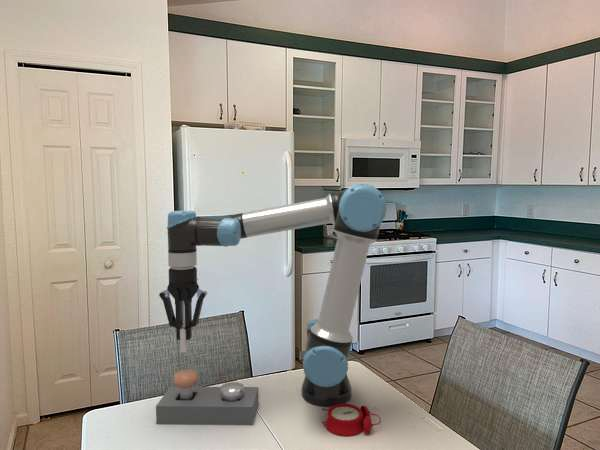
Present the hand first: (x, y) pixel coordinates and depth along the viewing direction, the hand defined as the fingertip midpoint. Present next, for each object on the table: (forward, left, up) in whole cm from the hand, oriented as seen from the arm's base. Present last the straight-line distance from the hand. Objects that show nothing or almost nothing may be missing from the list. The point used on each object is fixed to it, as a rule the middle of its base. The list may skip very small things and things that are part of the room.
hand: (184, 350), depth 125 cm
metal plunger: (-13, 0, -18) cm, 22 cm away
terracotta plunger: (0, 0, -14) cm, 14 cm away
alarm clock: (-46, +6, -19) cm, 50 cm away
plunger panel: (-7, 0, -18) cm, 19 cm away
